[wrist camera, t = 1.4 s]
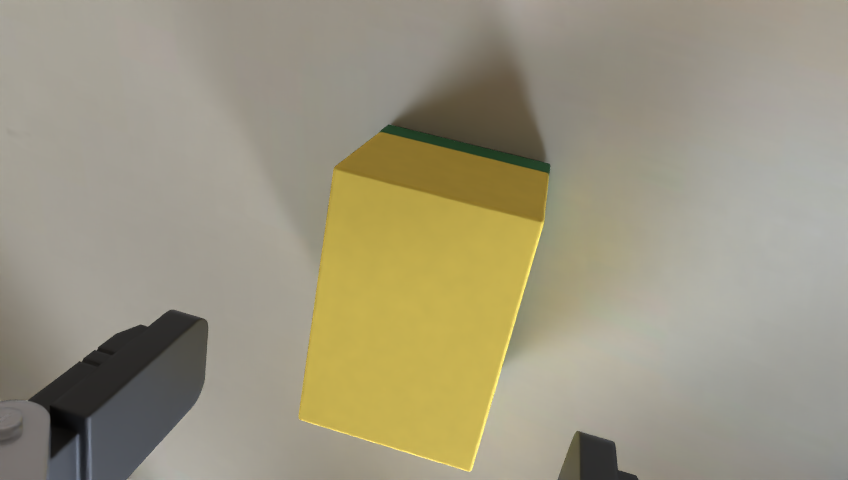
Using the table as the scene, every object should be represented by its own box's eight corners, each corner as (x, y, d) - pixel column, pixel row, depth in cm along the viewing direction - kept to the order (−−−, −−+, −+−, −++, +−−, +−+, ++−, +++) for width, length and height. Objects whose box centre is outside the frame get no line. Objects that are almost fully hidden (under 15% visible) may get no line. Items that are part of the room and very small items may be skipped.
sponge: (388, 123, 19) (332, 166, 15) (550, 163, 19) (545, 220, 14) (352, 331, 22) (297, 420, 18) (491, 371, 22) (471, 473, 17)
